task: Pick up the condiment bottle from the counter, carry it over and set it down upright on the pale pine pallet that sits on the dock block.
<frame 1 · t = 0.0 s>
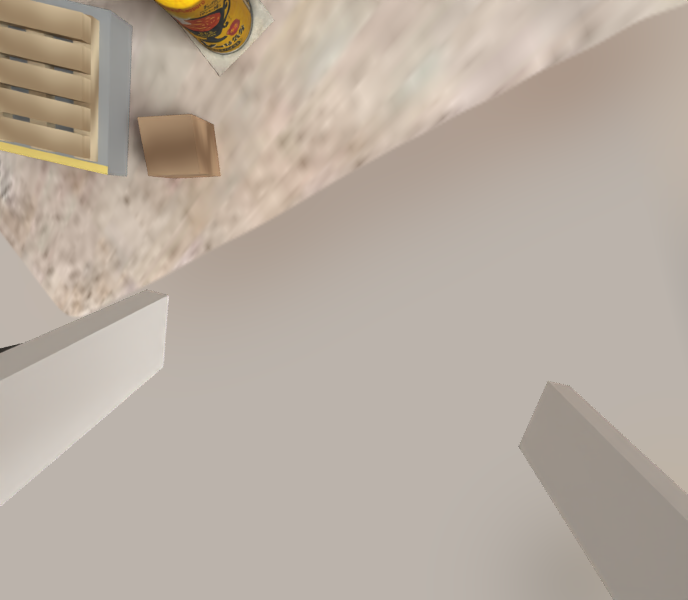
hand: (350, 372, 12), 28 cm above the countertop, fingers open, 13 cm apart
condiment: (218, 10, 33), on the countertop
dock: (71, 92, 36), on the countertop
brown cube: (194, 152, 37), on the countertop
pallet: (46, 83, 33), resting on dock
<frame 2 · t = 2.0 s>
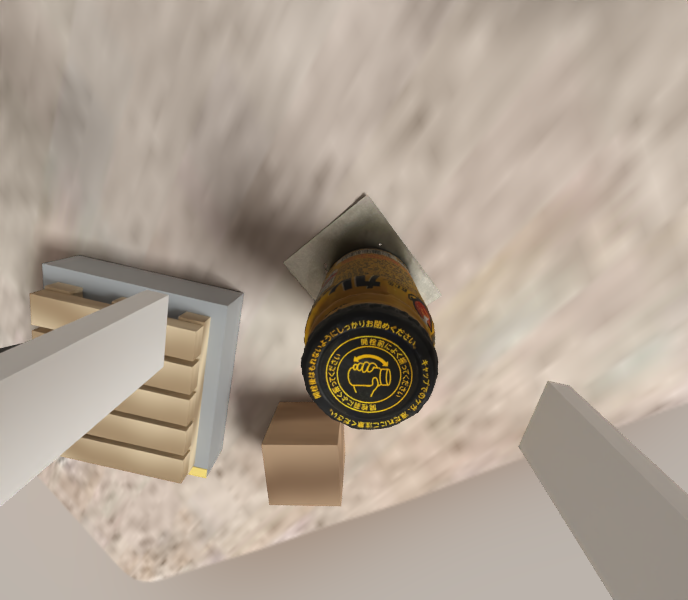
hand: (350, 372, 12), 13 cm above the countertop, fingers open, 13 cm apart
condiment: (362, 277, 24), on the countertop
dock: (156, 360, 27), on the countertop
brown cube: (312, 428, 28), on the countertop
pallet: (131, 380, 24), resting on dock
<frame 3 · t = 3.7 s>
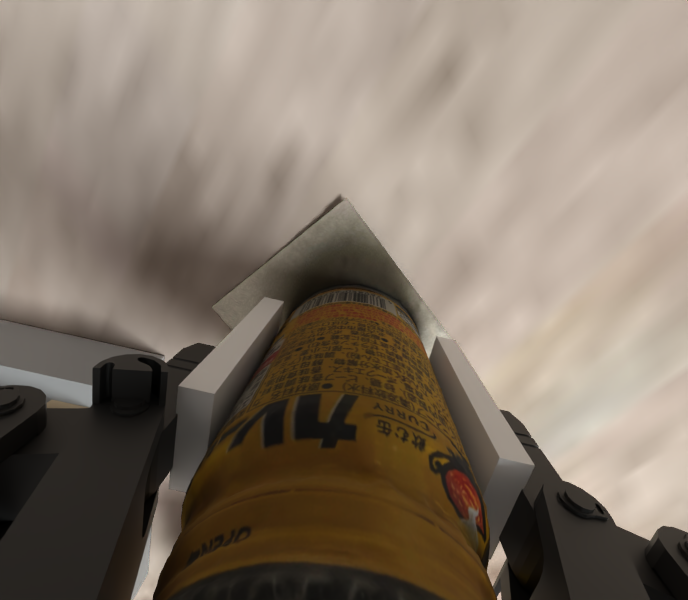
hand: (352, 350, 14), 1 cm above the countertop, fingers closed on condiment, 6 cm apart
condiment: (340, 330, 15), on the countertop, touching gripper
dock: (39, 451, 18), on the countertop
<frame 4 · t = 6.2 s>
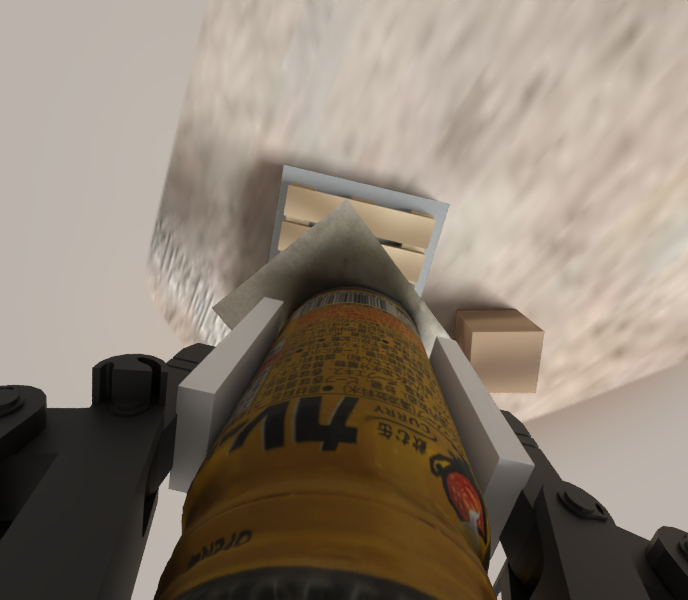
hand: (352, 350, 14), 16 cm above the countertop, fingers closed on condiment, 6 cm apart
condiment: (340, 331, 15), point 15 cm above the countertop, touching gripper
dock: (346, 270, 30), on the countertop
brown cube: (483, 336, 31), on the countertop
pallet: (344, 278, 27), resting on dock
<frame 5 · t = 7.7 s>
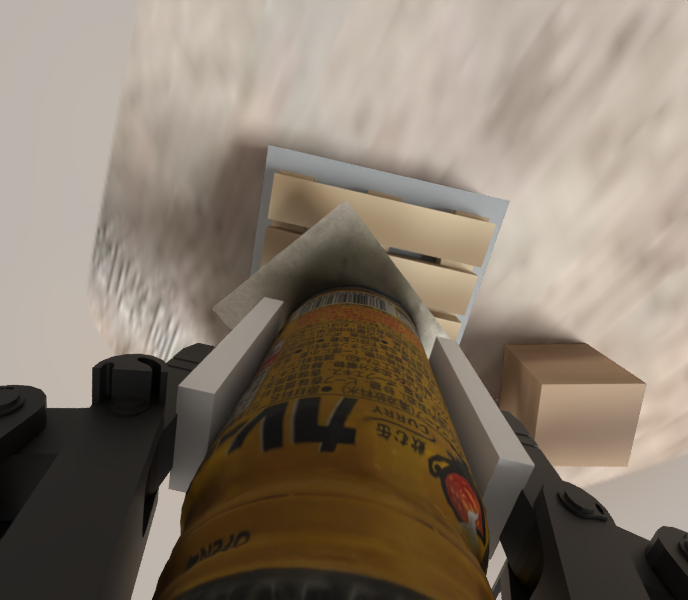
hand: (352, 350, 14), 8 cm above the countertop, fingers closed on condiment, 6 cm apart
condiment: (340, 331, 15), point 7 cm above the countertop, touching gripper
dock: (357, 292, 22), on the countertop
brown cube: (539, 378, 23), on the countertop
pallet: (356, 306, 19), resting on dock
when the fingers open (7 cm above the countertop, at t = 8.7 s): condiment stays where it is, resting on pallet.
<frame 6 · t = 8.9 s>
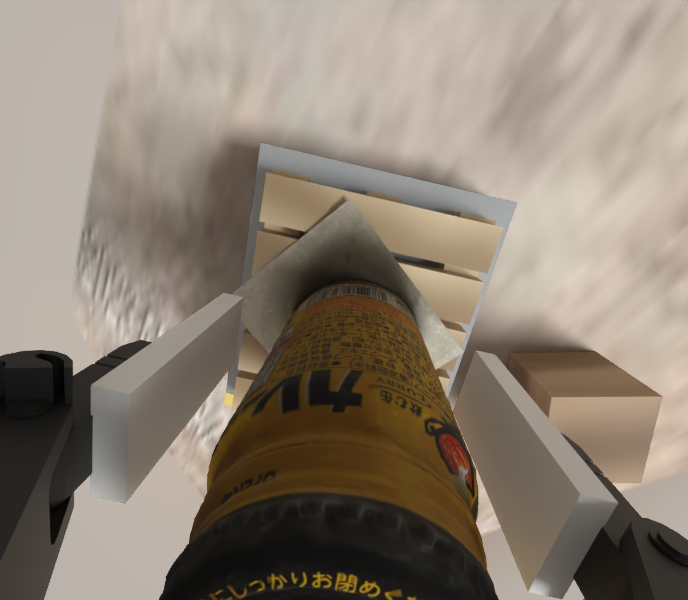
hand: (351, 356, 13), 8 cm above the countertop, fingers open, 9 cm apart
condiment: (343, 323, 16), point 5 cm above the countertop, touching pallet
dock: (355, 297, 21), on the countertop
brown cube: (546, 387, 22), on the countertop
pallet: (354, 314, 18), resting on dock
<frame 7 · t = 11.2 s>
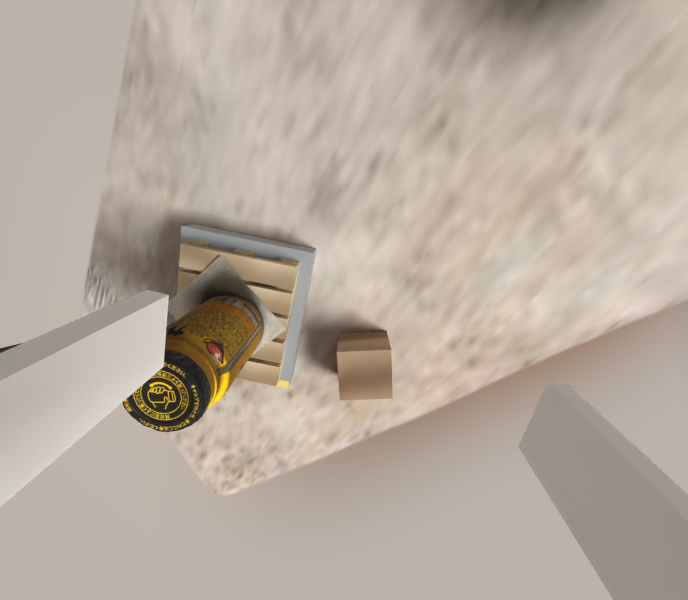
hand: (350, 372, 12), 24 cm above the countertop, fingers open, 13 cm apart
condiment: (226, 316, 32), point 5 cm above the countertop, touching pallet
dock: (247, 303, 36), on the countertop
brown cube: (363, 353, 37), on the countertop
pallet: (238, 312, 33), resting on dock
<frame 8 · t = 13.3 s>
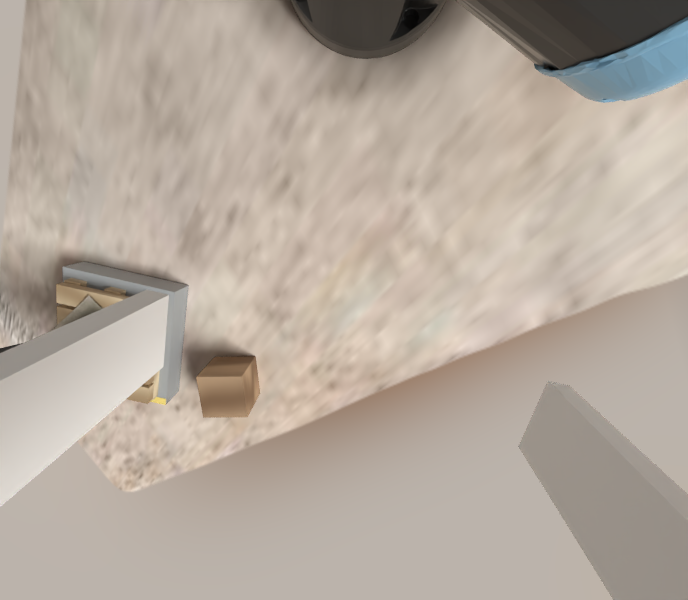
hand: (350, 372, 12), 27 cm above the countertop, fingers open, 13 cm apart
condiment: (101, 344, 37), point 5 cm above the countertop, touching pallet
dock: (133, 329, 42), on the countertop
brown cube: (237, 374, 43), on the countertop
pallet: (116, 339, 39), resting on dock
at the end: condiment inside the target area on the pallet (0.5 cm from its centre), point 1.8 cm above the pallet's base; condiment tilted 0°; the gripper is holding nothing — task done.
